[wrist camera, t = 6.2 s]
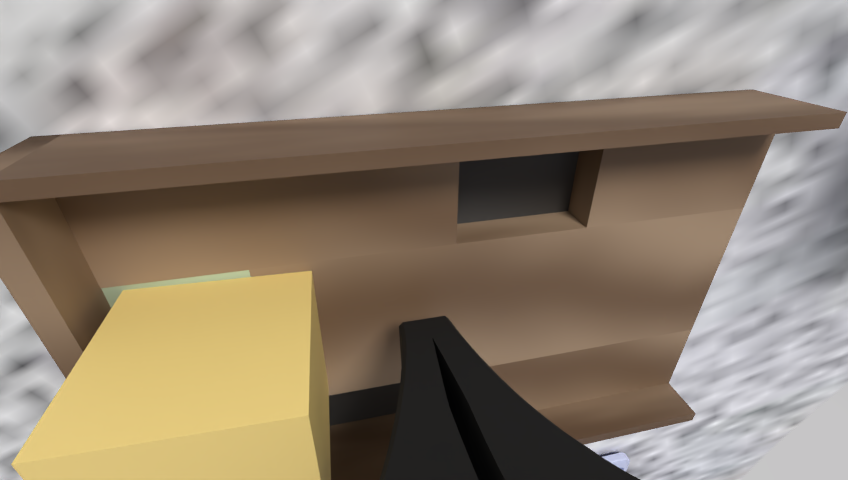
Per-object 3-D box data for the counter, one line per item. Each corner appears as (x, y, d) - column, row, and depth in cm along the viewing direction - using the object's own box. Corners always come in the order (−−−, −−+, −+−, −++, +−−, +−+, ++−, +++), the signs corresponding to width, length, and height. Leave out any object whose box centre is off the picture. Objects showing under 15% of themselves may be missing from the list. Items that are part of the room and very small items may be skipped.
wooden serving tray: (647, 368, 19) (692, 419, 17) (190, 457, 16) (169, 538, 13) (752, 89, 13) (846, 111, 10) (31, 136, 9) (-60, 184, 7)
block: (328, 386, 14) (332, 541, 10) (175, 410, 13) (114, 590, 9) (311, 270, 11) (308, 415, 7) (123, 290, 10) (10, 464, 7)
